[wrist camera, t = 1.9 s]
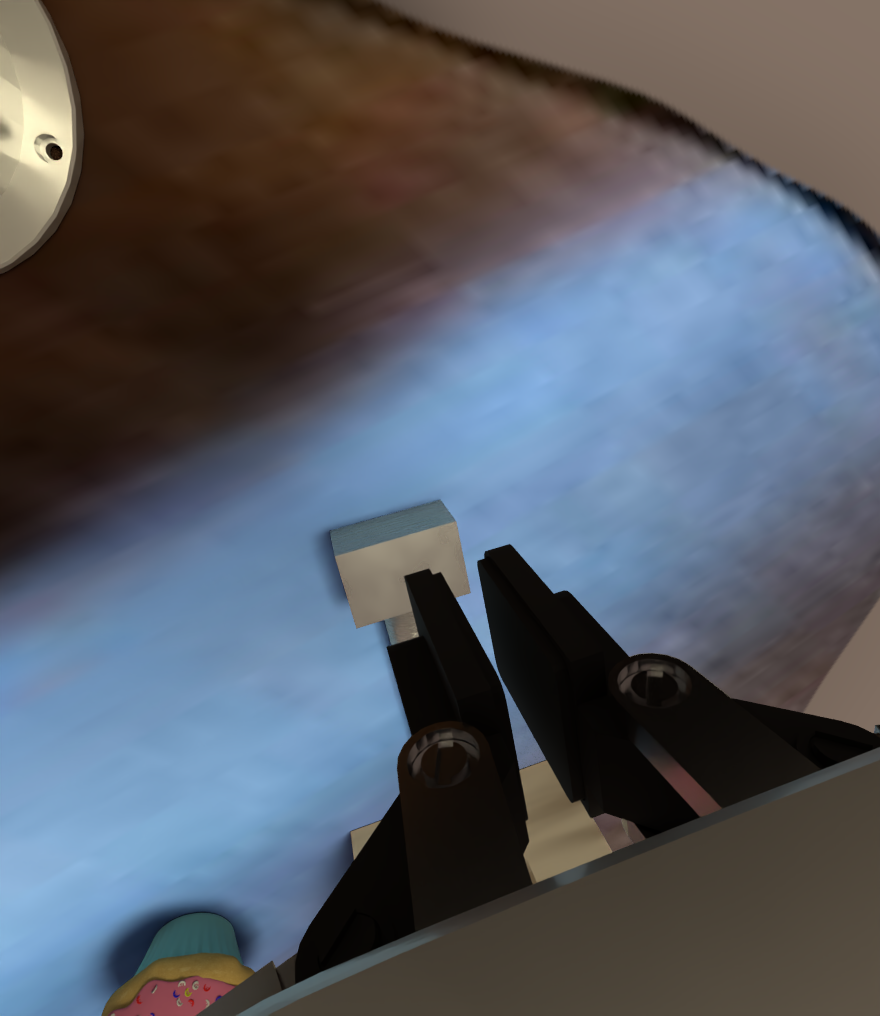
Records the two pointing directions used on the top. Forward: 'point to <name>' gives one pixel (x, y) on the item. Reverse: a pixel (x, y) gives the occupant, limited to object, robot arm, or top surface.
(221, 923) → the cupcake
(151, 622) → the top surface
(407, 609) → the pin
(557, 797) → the block
